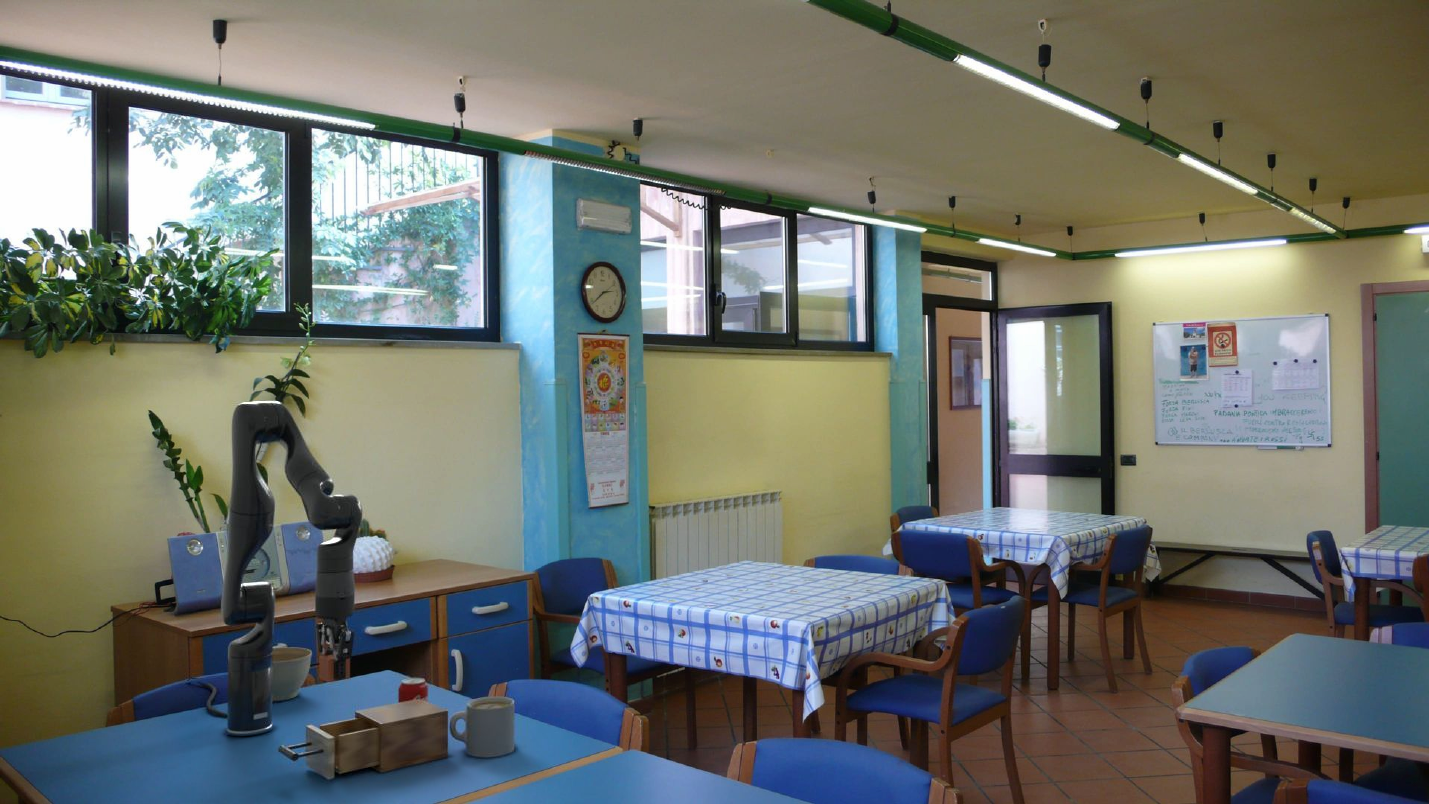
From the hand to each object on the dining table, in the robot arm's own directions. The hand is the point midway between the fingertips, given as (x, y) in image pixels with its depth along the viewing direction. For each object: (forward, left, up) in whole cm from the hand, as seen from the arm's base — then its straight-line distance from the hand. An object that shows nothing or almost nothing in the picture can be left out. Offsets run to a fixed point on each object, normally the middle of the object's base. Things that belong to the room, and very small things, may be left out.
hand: (334, 676), depth 212 cm
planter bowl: (-61, +10, -18) cm, 64 cm away
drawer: (+4, -2, -17) cm, 18 cm away
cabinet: (+4, +12, -18) cm, 22 cm away
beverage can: (-9, +21, -18) cm, 29 cm away
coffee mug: (+11, +27, -18) cm, 35 cm away
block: (0, 0, 0) cm, 0 cm away
